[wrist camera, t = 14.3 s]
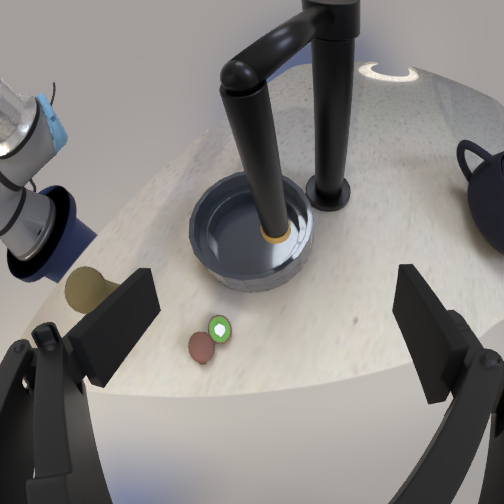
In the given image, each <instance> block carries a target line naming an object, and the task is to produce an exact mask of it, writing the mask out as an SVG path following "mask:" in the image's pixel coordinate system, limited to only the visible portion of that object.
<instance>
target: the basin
mask: <svg viewBox="0 0 504 504" xmlns="http://www.w3.org/2000/svg"><path fill="white" fill-rule="evenodd" d="M282 180H283V187H284V194H285V201H286V208H287V216H288V220H289V222H290V226H291V233H290V236H289V238H288V239H287V240H286V241H284V242H282V243H280V244H272V243H269V242H267V241H266V240H265V239H264V238H263V235H262V232H261V223H260V220H259V217H258V213H257V210H256V207H255V203H254V200H253V197H252V194H251V190H250V187H249V184H248V180H247V177H246V174H245V171H243V172H237V173H235V174H232V175H230V176H228V177H225V178H223V179H221V180H219V181H218V182H217V183H215V184H214V185H213V186H211V187H210V188H209V189H208V190H206V191H205V193H204V194H203V195H202V197H201V198H200V199H199V201H198V202H197V203H196V205H195V207H194V210H193V212H192V215H191V218H190V222H189V239H190V242H191V245H192V248H193V251H194V254H195V255H196V256H197V257H198V259H199V260H200V261H201V262H202V264H203V265H204V266H205V267H206V268H207V270H208V271H209V272H210V273H211V274H212V275H213V276H214V277H215V279H217V280H218V281H219V282H221V283H223V284H225V285H226V286H228V287H230V288H232V289H236V290H241V291H246V292H257V291H266V290H270V289H273V288H275V287H277V286H279V285H282V284H284V283H286V282H288V281H289V280H290V279H291V278H292V277H293V276H294V275H296V274H297V273H298V272H299V271H300V270H301V269H302V267H303V265H304V263H305V262H306V260H307V258H308V256H309V255H310V251H311V245H312V239H313V215H312V210H311V205H310V202H309V200H308V198H307V197H306V195H305V194H304V192H303V190H302V189H301V188H300V187H299V186H298V185H296V184H295V183H294V182H293V181H291V180H290V179H289V178H287V177H285V176H282Z"/></svg>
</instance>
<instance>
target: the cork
mask: <svg viewBox="0 0 504 504" xmlns="http://www.w3.org/2000/svg"><path fill="white" fill-rule="evenodd" d="M119 286H120V285H119V284H116V283H113V282H110V281H107V280H105V279H104V278H103V276H102V275H101V273H99V272H98V271H97V270H95V269H94V268H91V267H86V266H85V267H80V268H77V269H76V270H74V271H73V272H72V273H71V274H70V276H69V277H68V279H67V282H66V285H65V297H66V300H67V302H68V304H69V305H70V306H71V307H72V308H73V309H74V310H75V311H77V312H80V313H83V314H88V313H89V312H91V311H93V310H94V309H95V308H96V307H97V306H98V305H99V304H100V303H101V302H102V301H103V300H105V299H106V298H107V297H108V296H109V295H110V294H111V293H112V292H113V291H114V290H115V289H116V288H118V287H119Z"/></svg>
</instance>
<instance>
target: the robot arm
mask: <svg viewBox="0 0 504 504" xmlns="http://www.w3.org/2000/svg"><path fill="white" fill-rule="evenodd" d="M53 87H54V89H53V96H52V100H51V103H49V102H48V100H47V98H46V96H45V95H44V94H43V93H41V94H39V95H37V96H36V97H35V98H34V97H33V96H32V95H30V94H28V93H21V94H16V93H15V92H14V91H13V90H12V89H11V88H10V87H9V86H8V85H7V84H6V83H5V81H4V80H2V79H1V77H0V239H1V240H2V241H3V243H4V244H5V245H6V246H7V247H8V248H9V249H10V252H11V253H12V255H13V256H14V257H16V258H17V259H19V260H21V261H24V262H25V261H29V260H31V259H33V258H34V257H36V256H37V255H38V254H39V253H40V252H41V250H42V249H43V248H44V246H45V245H46V243H47V242H48V240H49V238H50V236H51V234H52V232H53V229H54V226H55V223H56V219H57V206H56V204H55V202H54V201H53V200H52V199H50V198H49V197H48V196H46V195H40V194H38V193H36V185H35V183H34V182H33V180H32V177H33V176H34V175H35V174H36V173H37V172H38V171H39V170H40V169H41V168H42V167H43V166H44V165H45V164H47V163H48V162H49V161H50V160H51V159H52V158H53V157H54V156H55V155H56V154H57V152H58V151H59V150H60V149H61V148H62V147H63V146H64V145H65V144H66V142H67V139H68V136H67V133H66V131H65V130H64V128H63V126H62V124H61V122H60V121H59V119H58V117H57V116H56V114H55V112H54V110H53V109H52V103H53V100H54V96H55V82H54V83H53ZM28 181H30V183H31V185H32V186H33V191H30V190H28V189H26V188H25V187H24V186H25V184H26V183H27V182H28ZM160 311H161V309H160V305H159V302H158V298H157V294H156V290H155V286H154V281H153V277H152V273H151V269H150V268H139V269H138V270H136V271H135V272H134V273H133V274H132V275H131V276H130V277H129V278H127V279H126V280H125V281H124V282H123V283H122V284H121V285H120V286H119V287H118V288H116V289H115V290H114V291H113V292H112V293H111V294H110V295H109V296H108V297H107V298H106V299H105V300H103V301H102V302H101V303H100V304H99V305H98V306H97V307H96V308H95V309H94V310H93V311H91V312H89V313H88V314H86V315H85V316H84V317H83V318H82V320H80V321H79V322H78V323H77V325H75V326H74V327H73V328H72V329H71V330H70V331H69V332H68V333H67V334H66V335H65V336H64V337H63V338H61V336H60V334H59V332H58V329H57V327H56V325H55V324H54V323H53V322H47V323H43V324H41V325H39V326H37V327H36V328H35V329H34V330H33V331H32V333H31V335H32V337H33V339H34V341H35V343H36V345H37V347H38V348H32V347H31V345H30V343H29V341H28V340H26V339H22V340H17V341H15V342H14V343H13V344H12V345H11V346H10V348H9V349H8V351H7V353H6V355H5V356H4V358H3V360H2V362H1V364H0V504H113V503H112V500H111V498H110V494H109V491H108V488H107V484H106V481H105V478H104V474H103V471H102V467H101V463H100V460H99V455H98V451H97V447H96V443H95V438H94V434H93V429H92V424H91V419H90V413H89V407H88V400H87V394H86V386H85V383H84V381H83V378H84V377H85V376H86V375H87V377H88V379H89V381H90V383H91V384H92V385H95V386H99V387H102V388H104V387H105V386H106V384H107V383H108V382H109V380H110V379H111V377H112V376H113V375H114V373H115V372H116V370H117V369H118V368H119V366H120V365H121V364H122V362H123V361H124V359H125V358H126V357H127V355H128V354H129V353H130V351H131V350H132V349H133V347H134V346H135V344H136V343H137V342H138V340H139V339H140V338H141V336H142V335H143V334H144V332H145V331H146V330H147V328H148V327H149V326H150V324H151V323H152V322H153V320H154V319H155V318H156V316H157V315H158V314H159V312H160ZM392 312H393V314H394V316H395V319H396V321H397V323H398V326H399V328H400V330H401V333H402V335H403V337H404V340H405V342H406V345H407V347H408V350H409V352H410V355H411V357H412V360H413V363H414V365H415V368H416V371H417V373H418V376H419V379H420V381H421V384H422V387H423V390H424V393H425V396H426V399H427V402H428V404H434V403H439V402H443V401H445V400H446V399H447V396H448V395H449V393H450V391H451V393H452V395H453V400H452V402H451V404H450V406H449V408H448V409H447V411H446V413H445V415H444V418H443V420H442V422H441V424H440V426H439V428H438V430H437V431H436V433H435V435H434V437H433V439H432V440H431V442H430V444H429V445H428V447H427V449H426V450H425V452H424V454H423V455H422V457H421V458H420V460H419V462H418V463H417V465H416V466H415V468H414V469H413V471H412V472H411V474H410V475H409V476H408V478H407V480H406V481H405V482H404V484H403V485H402V486H401V488H400V489H399V490H398V492H397V493H396V494H395V496H394V497H393V498H392V500H391V501H390V502H389V503H388V504H451V502H452V500H453V499H454V497H455V495H456V493H457V491H458V490H459V488H460V486H461V484H462V482H463V480H464V478H465V476H466V474H467V472H468V470H469V467H470V465H471V463H472V461H473V459H474V456H475V454H476V452H477V449H478V447H479V444H480V442H481V439H482V436H483V434H484V431H485V428H486V425H487V423H488V420H489V417H490V413H491V415H492V416H491V429H490V440H489V448H488V456H487V463H486V469H485V475H484V480H483V485H482V490H481V494H480V498H479V502H478V504H504V361H503V359H502V358H501V356H500V355H499V354H498V353H497V352H495V351H493V350H491V349H484V348H483V346H482V345H481V343H480V342H479V340H478V339H477V337H476V336H475V334H474V333H473V331H472V330H471V328H470V327H469V325H468V324H467V322H466V321H465V320H464V318H463V317H462V316H461V315H460V314H459V313H457V312H456V311H454V310H446V309H445V307H444V306H443V305H442V303H441V302H440V300H439V299H438V297H437V296H436V295H435V293H434V292H433V291H432V289H431V288H430V286H429V285H428V284H427V282H426V281H425V280H424V278H423V277H422V276H421V274H420V273H419V272H418V270H417V269H416V268H415V267H414V265H413V264H400V265H399V270H398V278H397V285H396V292H395V298H394V304H393V310H392ZM23 379H24V380H25V382H26V383H27V387H26V388H24V386H23V384H22V380H23ZM34 467H35V478H33V473H34Z"/></svg>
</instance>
